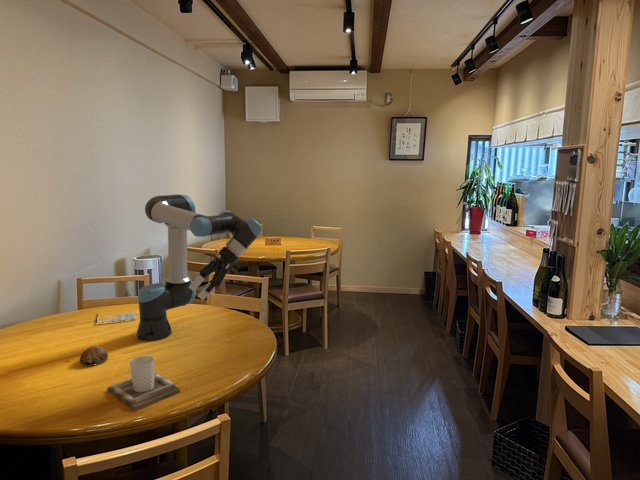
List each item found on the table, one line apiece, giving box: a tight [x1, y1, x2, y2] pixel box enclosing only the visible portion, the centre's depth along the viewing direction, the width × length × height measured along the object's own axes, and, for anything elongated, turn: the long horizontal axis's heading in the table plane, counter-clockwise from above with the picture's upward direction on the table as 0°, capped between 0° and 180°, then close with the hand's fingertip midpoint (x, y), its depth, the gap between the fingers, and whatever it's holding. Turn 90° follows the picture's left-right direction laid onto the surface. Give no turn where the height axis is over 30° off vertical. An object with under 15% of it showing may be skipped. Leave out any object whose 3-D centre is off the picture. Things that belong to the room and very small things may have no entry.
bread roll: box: [79, 345, 109, 366], centre depth 178 cm, size 10×10×8 cm
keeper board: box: [106, 372, 181, 411], centre depth 153 cm, size 20×16×2 cm
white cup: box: [129, 355, 156, 392], centre depth 153 cm, size 8×8×10 cm
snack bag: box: [96, 311, 136, 323], centre depth 231 cm, size 19×20×2 cm
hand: (195, 293), depth 170 cm, fingers open, 13 cm apart
